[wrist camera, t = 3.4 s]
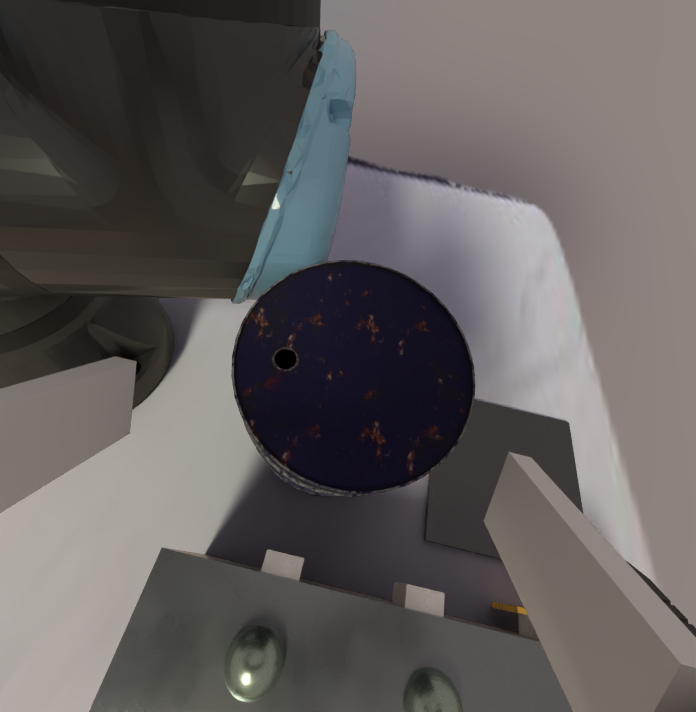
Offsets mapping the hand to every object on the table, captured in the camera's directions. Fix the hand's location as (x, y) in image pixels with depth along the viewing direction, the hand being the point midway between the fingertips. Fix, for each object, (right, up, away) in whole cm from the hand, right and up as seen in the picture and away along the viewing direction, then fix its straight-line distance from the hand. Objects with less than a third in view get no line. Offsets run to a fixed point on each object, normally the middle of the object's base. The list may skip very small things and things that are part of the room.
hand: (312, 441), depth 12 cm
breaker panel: (+6, -9, +13) cm, 17 cm away
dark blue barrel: (-1, -3, +15) cm, 16 cm away
